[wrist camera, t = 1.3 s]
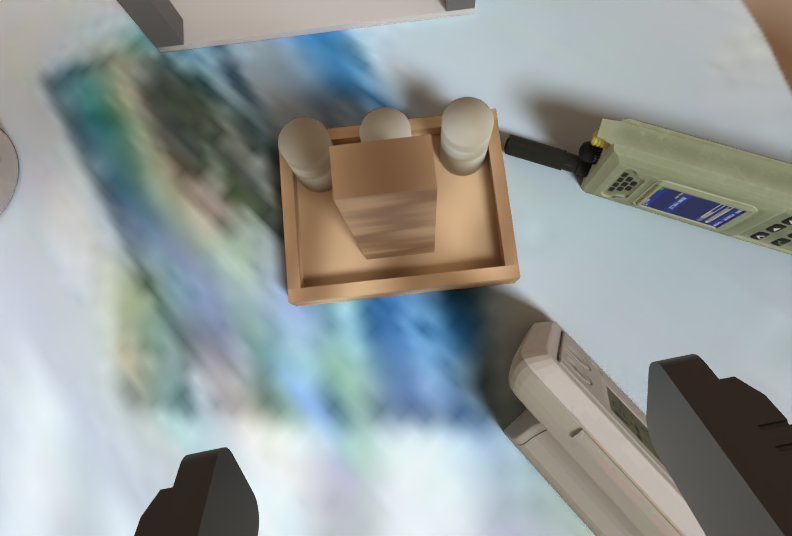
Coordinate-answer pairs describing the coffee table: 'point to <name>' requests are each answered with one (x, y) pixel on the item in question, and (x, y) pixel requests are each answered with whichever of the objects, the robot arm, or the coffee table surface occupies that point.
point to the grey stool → (272, 18)
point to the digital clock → (591, 441)
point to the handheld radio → (679, 179)
